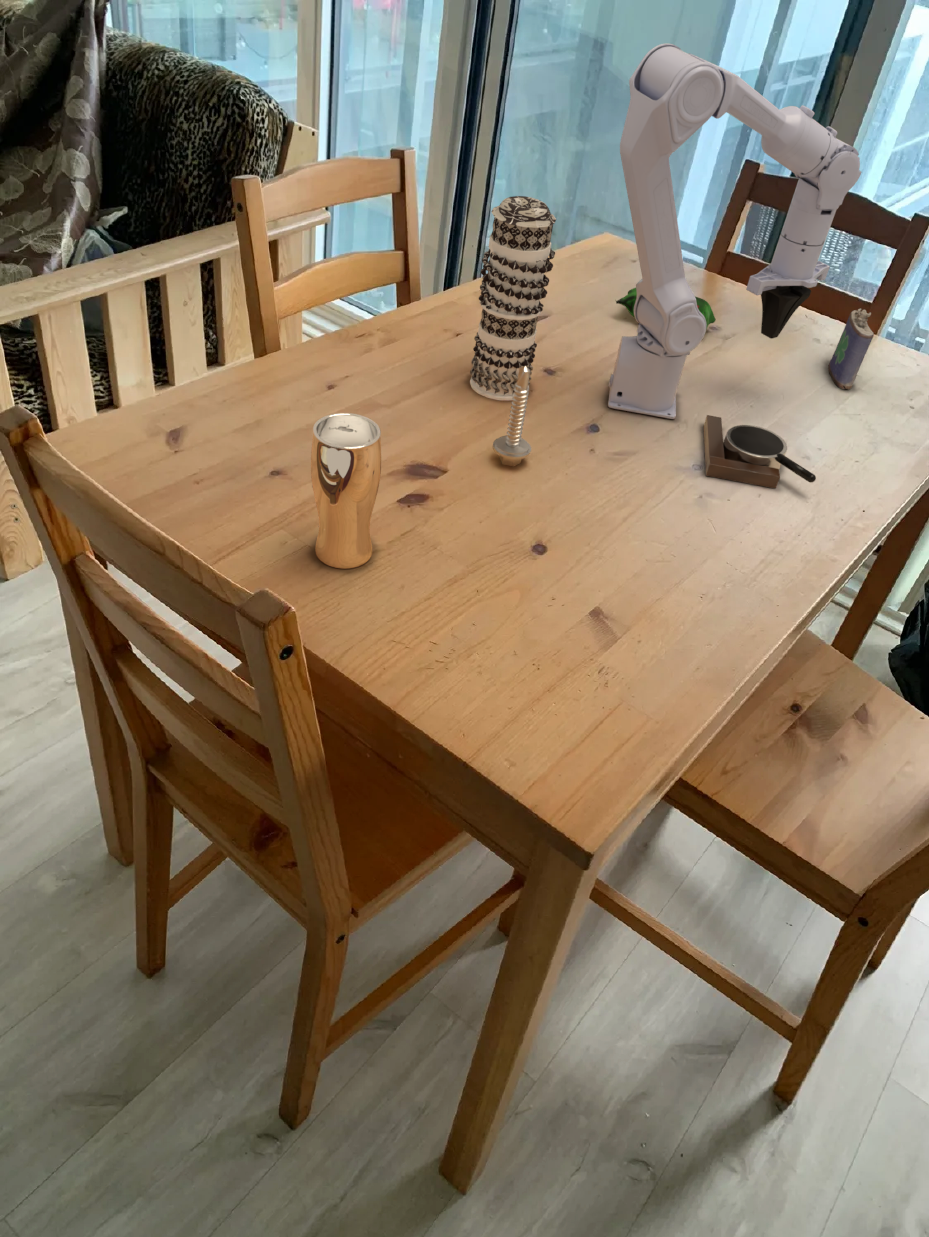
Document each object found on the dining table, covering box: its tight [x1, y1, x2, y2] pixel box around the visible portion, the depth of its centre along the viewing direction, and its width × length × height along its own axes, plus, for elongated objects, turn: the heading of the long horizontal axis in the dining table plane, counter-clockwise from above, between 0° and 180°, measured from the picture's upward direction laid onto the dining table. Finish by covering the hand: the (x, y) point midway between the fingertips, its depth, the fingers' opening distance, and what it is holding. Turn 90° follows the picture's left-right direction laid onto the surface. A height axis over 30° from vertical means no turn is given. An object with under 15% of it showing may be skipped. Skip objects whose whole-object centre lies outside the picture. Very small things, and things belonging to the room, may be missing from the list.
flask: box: [827, 308, 875, 390], centre depth 142 cm, size 9×3×11 cm, turn 172°
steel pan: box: [723, 424, 817, 483], centre depth 121 cm, size 14×8×3 cm, turn 35°
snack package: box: [615, 287, 717, 331], centre depth 151 cm, size 7×16×5 cm, turn 65°
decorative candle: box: [469, 195, 557, 401], centre depth 123 cm, size 9×9×25 cm
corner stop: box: [703, 414, 781, 489], centre depth 123 cm, size 9×13×2 cm
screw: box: [492, 366, 532, 467], centre depth 113 cm, size 13×5×5 cm
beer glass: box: [310, 412, 382, 570], centre depth 95 cm, size 7×7×15 cm
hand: (769, 335), depth 131 cm, fingers closed
